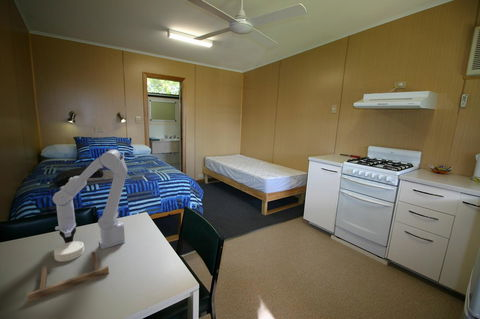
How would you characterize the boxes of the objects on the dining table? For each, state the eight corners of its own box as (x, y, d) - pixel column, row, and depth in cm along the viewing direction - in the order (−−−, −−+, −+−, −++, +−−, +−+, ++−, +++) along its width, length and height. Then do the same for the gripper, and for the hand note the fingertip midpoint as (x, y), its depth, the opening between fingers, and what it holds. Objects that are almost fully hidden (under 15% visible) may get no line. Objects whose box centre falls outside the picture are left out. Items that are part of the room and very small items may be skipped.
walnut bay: (103, 254, 92) (102, 249, 92) (108, 273, 81) (108, 267, 81) (32, 276, 78) (31, 270, 78) (28, 302, 67) (27, 295, 67)
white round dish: (82, 244, 98) (81, 238, 97) (86, 255, 91) (85, 248, 90) (53, 253, 91) (52, 246, 90) (55, 265, 84) (54, 257, 84)
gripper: (54, 212, 96) (57, 239, 98) (53, 225, 85) (57, 255, 87) (74, 208, 100) (77, 234, 103) (75, 220, 89) (78, 249, 92)
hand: (69, 244), depth 95 cm, fingers closed
